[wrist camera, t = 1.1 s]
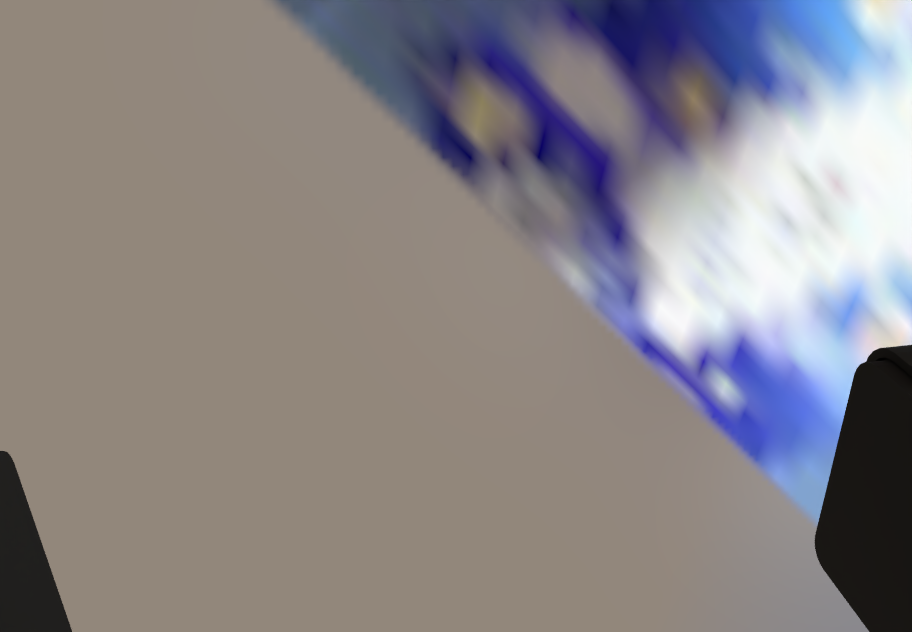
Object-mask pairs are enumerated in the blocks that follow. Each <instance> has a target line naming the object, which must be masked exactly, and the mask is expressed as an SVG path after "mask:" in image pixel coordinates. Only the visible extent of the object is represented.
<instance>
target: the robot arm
mask: <svg viewBox="0 0 912 632" xmlns="http://www.w3.org/2000/svg"><path fill="white" fill-rule="evenodd" d="M815 549H816V554H817V557H818V560H819V562H820V564H821V566H822V568H823V569H824V571H825V572H826V573H827V575H828V576H829V577H830V579H831V580H832V582H833V583H834V584H835V586H836V587H837V588H838V590H839V591H840V592H841V594H842V595H843V597H844V598H845V599H846V601H847V602H848V603H849V605H850V606H851V607H852V609H853V610H854V611H855V613H856V614H857V615H858V617H859V618H860V620H861V621H862V622H863V624H864V625H865V626H866V628H867V629H868V630H869V632H912V345H907V346H897V347H887V348H879V349H877V350H875V351H873V352H872V353H871V354H870V356H869V357H868V359H867V361H866V362H865V363H862V364H860V365H859V367H858V368H857V369H856V372H855V374H854V378H853V382H852V386H851V390H850V395H849V399H848V403H847V407H846V411H845V415H844V419H843V423H842V428H841V432H840V436H839V440H838V444H837V448H836V452H835V456H834V460H833V465H832V469H831V473H830V477H829V481H828V485H827V489H826V493H825V498H824V502H823V506H822V510H821V514H820V518H819V522H818V526H817V530H816V535H815ZM0 632H72V630H71V627H70V624H69V621H68V618H67V615H66V612H65V610H64V607H63V604H62V601H61V598H60V595H59V592H58V589H57V586H56V583H55V581H54V578H53V575H52V572H51V569H50V566H49V563H48V560H47V557H46V554H45V551H44V549H43V546H42V543H41V540H40V537H39V534H38V531H37V528H36V526H35V522H34V520H33V517H32V514H31V511H30V508H29V505H28V502H27V499H26V496H25V493H24V490H23V488H22V485H21V482H20V479H19V476H18V473H17V470H16V468H15V464H14V462H13V460H12V458H11V456H10V455H9V454H8V453H7V452H5V451H0Z"/></svg>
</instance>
